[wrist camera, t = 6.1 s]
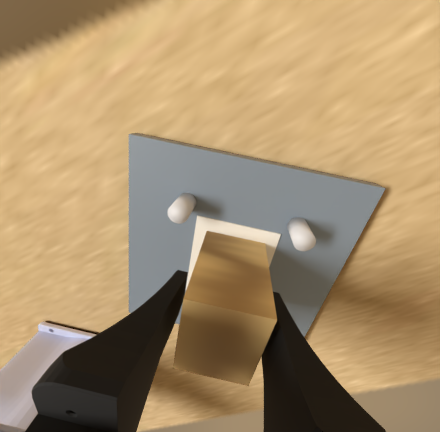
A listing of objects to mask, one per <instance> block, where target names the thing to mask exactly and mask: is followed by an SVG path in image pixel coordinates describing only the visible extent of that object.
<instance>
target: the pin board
mask: <svg viewBox="0 0 440 432" xmlns="http://www.w3.org/2000/svg"><path fill="white" fill-rule="evenodd" d="M385 189H386V188H384V187H382V186H380V185H378V184H376V183H371V182H367V181H362V180H357V179H352V178H348V177H343V176H338V175H333V174H329V173H324V172H319V171H314V170H310V169H305V168H300V167H296V166H291V165H286V164H281V163H277V162H272V161H267V160H262V159H258V158H253V157H248V156H244V155H239V154H234V153H229V152H225V151H220V150H215V149H210V148H206V147H201V146H196V145H191V144H187V143H182V142H177V141H173V140H168V139H163V138H158V137H154V136H149V135H144V134H139V133H133V134H129V312H130V313H132V312H133V311H135V310H136V309H137V308H139V307H140V306H141V305H142V304H144V303H145V302H146V301H147V300H148V299H149V298H150V297H152V296H153V295H154V294H155V293H156V292H157V291H158V290H159V289H160V288H161V287H162V286H163V285H164V284H165V283H166V282H167V281H168V280H169V279H170V278H171V277H172V276H173V274H174V273H175V272H176V271H177V270H181V271H185V272H188V276H187V282H186V289H185V293H186V290H187V287H188V284H189V281H190V278H191V275H192V272H193V269H194V267H195V264H196V261H197V258H198V255H199V252H200V249H201V246H202V243H203V240H204V237H205V234H206V232H207V231H210V232H215V233H220V234H224V235H229V236H234V237H238V238H243V239H247V240H252V241H257V242H261V243H265V245H266V252H267V258H268V264H269V271H270V277H271V284H272V290H273V292H277V293H279V294H280V296H281V298H282V299H283V301H284V303H285V305H286V307H287V309H288V311H289V313H290V314H291V316H292V318H293V320H294V321H295V323H296V325H297V327H298V328H299V330H300V332H301V333H302V335H303V336H304V337H305V335H306V333H307V332H308V330H309V328H310V326H311V324H312V322H313V321H314V319H315V317H316V315H317V313H318V311H319V310H320V308H321V306H322V304H323V302H324V300H325V299H326V297H327V295H328V293H329V291H330V289H331V288H332V286H333V284H334V282H335V280H336V278H337V277H338V275H339V273H340V271H341V269H342V267H343V266H344V264H345V262H346V260H347V258H348V256H349V255H350V253H351V251H352V249H353V247H354V245H355V244H356V242H357V240H358V238H359V236H360V234H361V233H362V231H363V229H364V227H365V225H366V223H367V222H368V220H369V218H370V216H371V214H372V212H373V211H374V209H375V207H376V205H377V203H378V201H379V200H380V198H381V196H382V194H383V192H384V190H385ZM184 296H185V295H184ZM182 305H183V303H182ZM181 311H182V306H181V309H180V312H179V315H178V317H177V319H176V322H175V323H177V324H180V318H181Z"/></svg>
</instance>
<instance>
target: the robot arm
mask: <svg viewBox="0 0 440 432" xmlns="http://www.w3.org/2000/svg"><path fill="white" fill-rule="evenodd" d="M187 276H188V272H185V271H181V270H177V271H176V272H175V273H174V274H173V276H172V277H171V278H170V279H169V280H168V281H167V282H166V283H165V284H164V285H163V286H162V287H161V288H160V289H159V290H158V291H157V292H156V293H155V294H154V295H153V296H152V297H150V298H149V299H148V300H147V301H146V302H145V303H144V304H142V305H141V306H140V307H139V308H137V309H136V310H135V311H133V312H132V313H131V314H129V315H128V316H126V317H125V318H123V319H122V320H120V321H119V322H117V323H116V324H114V325H113V326H111V327H110V328H108V329H106V330H104V331H103V332H101V333H99V334H97V335H96V334H92V333H88V332H84V331H80V330H76V329H71V328H67V327H63V326H59V325H55V324H51V323H47V322H41V323H40V324H39V325H38V329H39V331H38V332H37V333H36V334H35V335H34V336H33V337H32V338H31V339H30V340H29V341H28V342H27V343H26V344H25V345H24V347H23V348H22V349H21V350H20V351H19V352H18V353H17V354H16V355H15V356H14V357H13V358H12V359H11V360H10V361H9V362H8V363H7V364H6V365H5V366H4V367H3V368H2V369H1V370H0V432H136V431H137V427H138V424H139V421H140V418H141V415H142V412H143V409H144V405H145V402H146V399H147V396H148V393H149V390H150V387H151V384H152V381H153V378H154V375H155V372H156V369H157V366H158V363H159V360H160V357H161V355H162V352H163V349H164V347H165V345H166V343H167V340H168V338H169V336H170V333H171V331H172V329H173V326H174V324H175V322H176V319H177V317H178V315H179V312H180V309H181V306H182V303H183V299H184V295H185V289H186V282H187ZM273 296H274V303H275V309H276V315H277V322H276V324H275V326H274V328H273V331H272V333H271V335H270V338H269V340H268V342H267V344H266V347H265V349H264V351H263V354H262V366H263V378H264V432H386V431H385V429H384V428H383V427H381V426H380V425H379V424H378V423H377V422H376V421H375V420H374V419H373V418H372V417H371V416H370V415H369V414H368V413H367V412H366V411H365V410H364V409H363V408H362V407H361V406H360V405H359V404H358V403H357V402H356V401H355V400H354V399H353V398H352V397H351V396H350V395H349V393H348V392H347V391H346V390H345V389H344V388H343V387H342V386H341V385H340V384H339V382H338V381H337V380H336V379H335V378H334V377H333V375H332V374H331V373H330V372H329V371H328V369H327V368H326V367H325V366H324V364H323V363H322V362H321V361H320V359H319V358H318V357H317V355H316V354H315V352H314V351H313V350H312V348H311V347H310V345H309V344H308V342H307V341H306V339H305V338H304V336H303V335H302V333H301V332H300V330H299V328H298V327H297V325H296V323H295V321H294V320H293V318H292V316H291V314H290V313H289V311H288V309H287V307H286V305H285V303H284V301H283V299H282V298H281V296H280V294H279V293H277V292H273Z"/></svg>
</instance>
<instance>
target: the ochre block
mask: <svg viewBox="0 0 440 432" xmlns="http://www.w3.org/2000/svg"><path fill="white" fill-rule="evenodd" d="M276 322H277V315H276V309H275V303H274V296H273V290H272V284H271V277H270V271H269V264H268V258H267V252H266V245H265V243H261V242H257V241H252V240H247V239H243V238H238V237H234V236H229V235H224V234H220V233H215V232H210V231H207V232H206V234H205V237H204V240H203V243H202V246H201V249H200V252H199V255H198V258H197V261H196V264H195V267H194V269H193V272H192V275H191V278H190V281H189V284H188V287H187V290H186V293H185V296H184V299H183V305H182V311H181V318H180V325H179V331H178V338H177V344H176V351H175V358H174V364H173V368H174V369H178V370H182V371H187V372H191V373H195V374H200V375H204V376H208V377H213V378H217V379H221V380H226V381H230V382H234V383H239V384H243V385H247V386H249V383H250V381H251V379H252V376H253V374H254V372H255V370H256V367H257V365H258V363H259V360H260V358H261V356H262V354H263V351H264V349H265V347H266V344H267V342H268V340H269V338H270V335H271V333H272V331H273V328H274V326H275V324H276Z"/></svg>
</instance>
